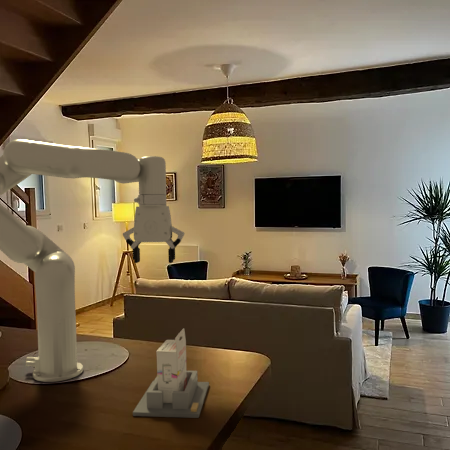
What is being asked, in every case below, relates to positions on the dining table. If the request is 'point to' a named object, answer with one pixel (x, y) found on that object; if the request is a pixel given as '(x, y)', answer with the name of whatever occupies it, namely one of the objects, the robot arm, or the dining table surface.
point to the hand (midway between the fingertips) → (154, 262)
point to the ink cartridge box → (172, 366)
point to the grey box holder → (174, 400)
